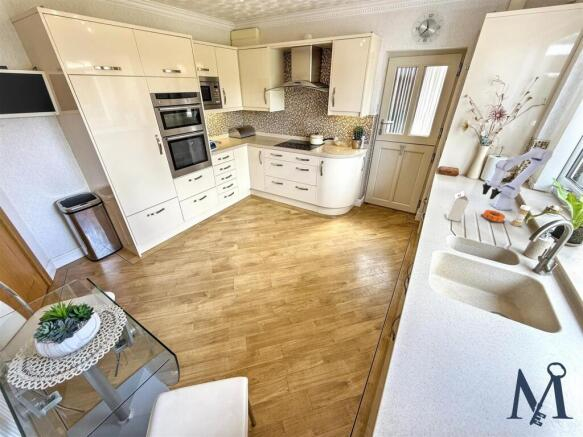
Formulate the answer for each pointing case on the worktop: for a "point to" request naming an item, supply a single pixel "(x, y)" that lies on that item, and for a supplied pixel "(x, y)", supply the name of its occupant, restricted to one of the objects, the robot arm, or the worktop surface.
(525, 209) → the sprinkles bottle
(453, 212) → the milk carton
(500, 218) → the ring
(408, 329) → the worktop surface
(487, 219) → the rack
